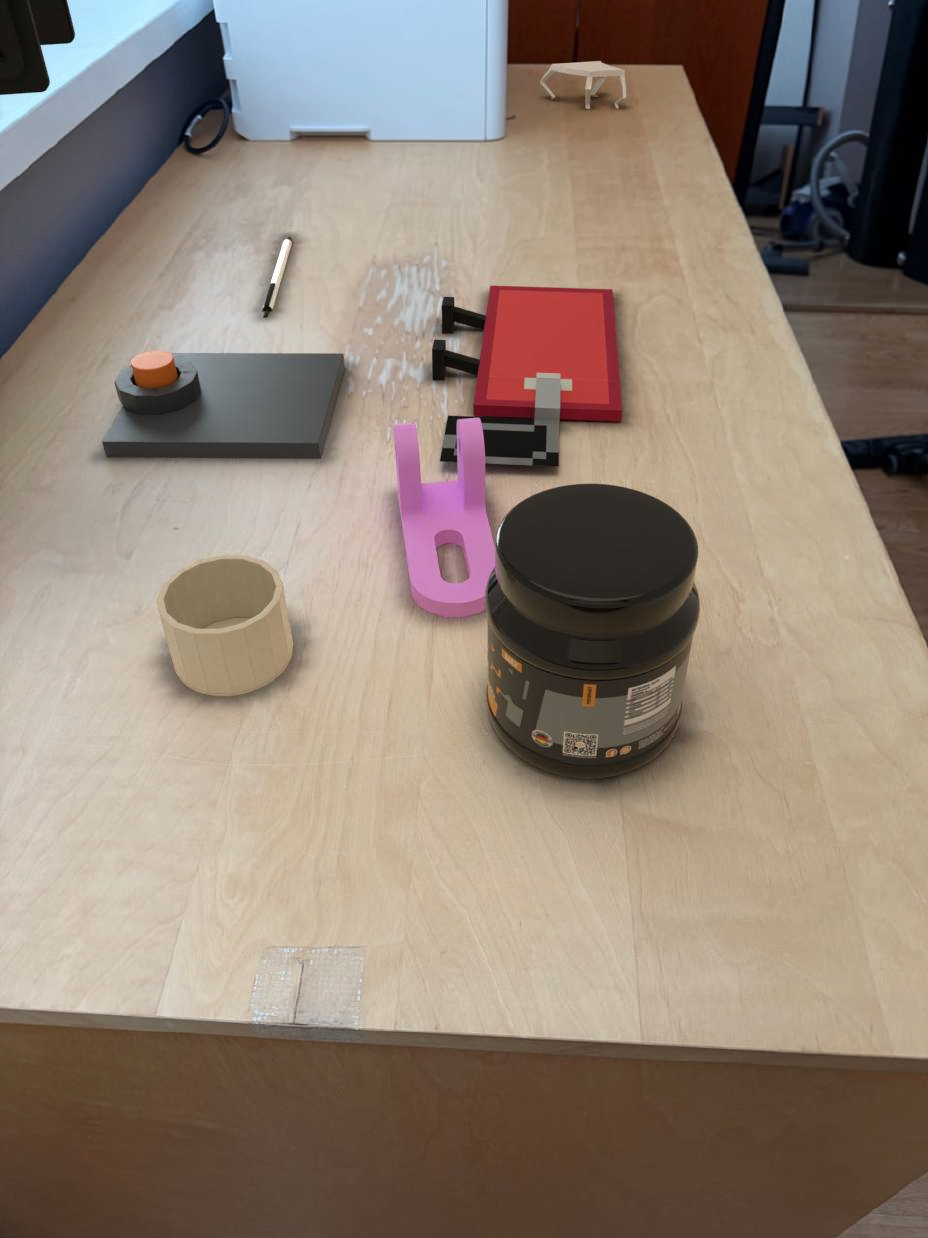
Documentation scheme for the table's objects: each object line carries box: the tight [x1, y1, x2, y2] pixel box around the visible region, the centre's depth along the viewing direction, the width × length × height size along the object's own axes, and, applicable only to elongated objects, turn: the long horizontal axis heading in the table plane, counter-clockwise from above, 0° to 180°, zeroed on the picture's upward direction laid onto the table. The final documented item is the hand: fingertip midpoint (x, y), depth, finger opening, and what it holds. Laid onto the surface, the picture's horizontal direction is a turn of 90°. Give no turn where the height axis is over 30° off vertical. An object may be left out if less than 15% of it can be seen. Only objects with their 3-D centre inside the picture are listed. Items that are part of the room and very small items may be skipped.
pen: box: [261, 235, 293, 318], centre depth 101 cm, size 1×19×1 cm, turn 0°
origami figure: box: [539, 60, 627, 110], centre depth 142 cm, size 12×8×5 cm
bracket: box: [393, 418, 495, 618], centre depth 65 cm, size 13×6×7 cm, turn 7°
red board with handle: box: [431, 285, 623, 467], centre depth 84 cm, size 30×3×15 cm
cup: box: [156, 554, 294, 697], centre depth 59 cm, size 7×7×5 cm
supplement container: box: [484, 483, 701, 779], centre depth 53 cm, size 10×10×12 cm
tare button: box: [130, 349, 178, 388], centre depth 80 cm, size 3×3×2 cm
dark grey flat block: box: [101, 352, 346, 460], centre depth 81 cm, size 16×14×3 cm
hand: (32, 65), depth 52 cm, fingers open, 9 cm apart
